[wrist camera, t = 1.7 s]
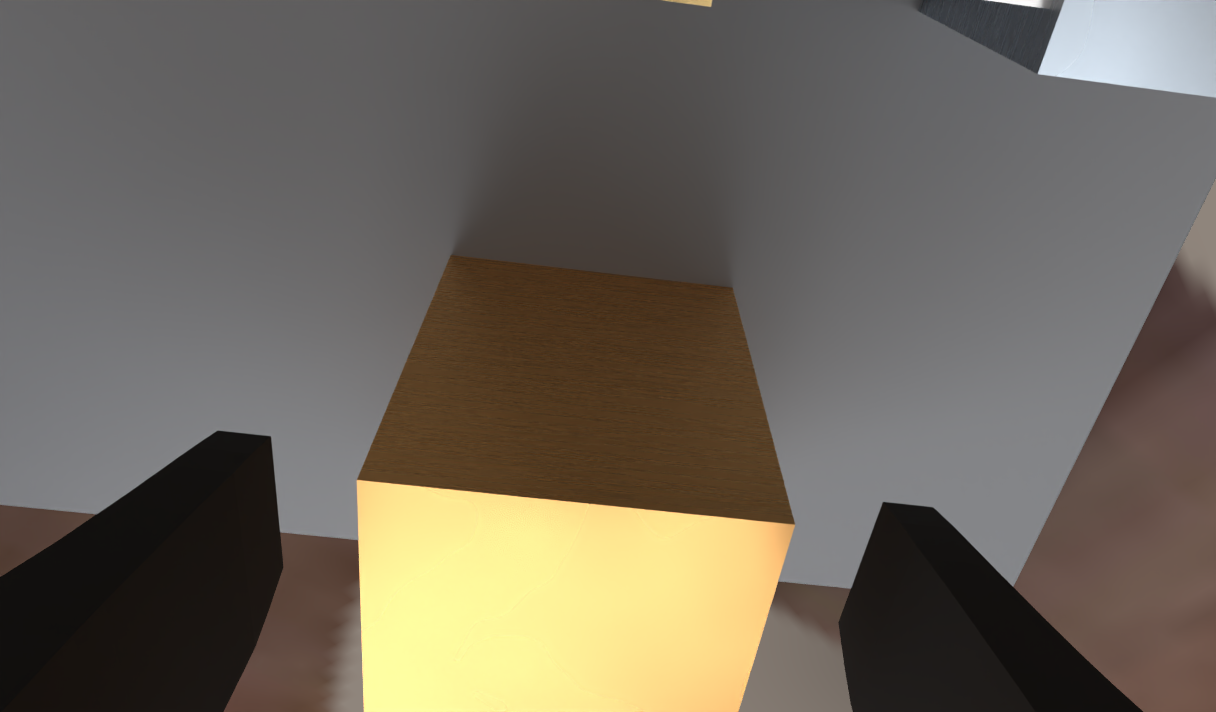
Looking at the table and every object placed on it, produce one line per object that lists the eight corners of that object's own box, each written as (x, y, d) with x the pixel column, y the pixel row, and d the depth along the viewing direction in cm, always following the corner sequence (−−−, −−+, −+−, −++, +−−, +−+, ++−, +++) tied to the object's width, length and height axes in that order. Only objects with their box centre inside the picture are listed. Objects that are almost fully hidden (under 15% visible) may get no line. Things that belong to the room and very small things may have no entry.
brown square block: (685, 504, 14) (715, 787, 10) (442, 479, 14) (365, 757, 10) (732, 287, 12) (795, 525, 8) (451, 255, 12) (356, 480, 8)
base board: (974, 544, 17) (1004, 603, 15) (-215, 423, 15) (-292, 476, 14) (1513, -654, 9) (1672, -744, 7) (-880, -1093, 7) (-1196, -1293, 6)
